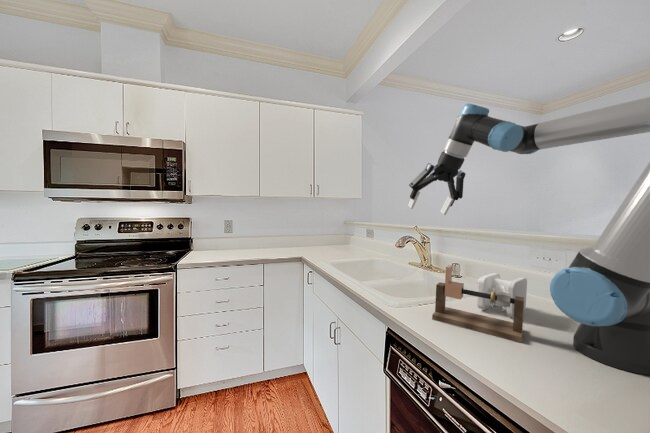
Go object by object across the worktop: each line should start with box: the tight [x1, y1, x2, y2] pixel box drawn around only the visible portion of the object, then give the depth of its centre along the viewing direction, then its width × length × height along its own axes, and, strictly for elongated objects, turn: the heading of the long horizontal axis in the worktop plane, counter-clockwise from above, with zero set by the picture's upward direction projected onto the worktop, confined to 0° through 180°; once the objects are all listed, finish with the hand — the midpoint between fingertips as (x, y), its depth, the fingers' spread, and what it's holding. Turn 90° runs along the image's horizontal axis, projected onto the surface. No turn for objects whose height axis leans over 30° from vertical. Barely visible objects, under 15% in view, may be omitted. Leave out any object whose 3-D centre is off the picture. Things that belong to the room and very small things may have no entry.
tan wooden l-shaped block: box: [444, 264, 465, 300], centre depth 83 cm, size 4×4×9 cm
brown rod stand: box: [431, 281, 524, 344], centre depth 79 cm, size 22×10×10 cm, turn 53°
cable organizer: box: [477, 272, 528, 319], centre depth 91 cm, size 15×11×12 cm
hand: (426, 210), depth 98 cm, fingers open, 13 cm apart
